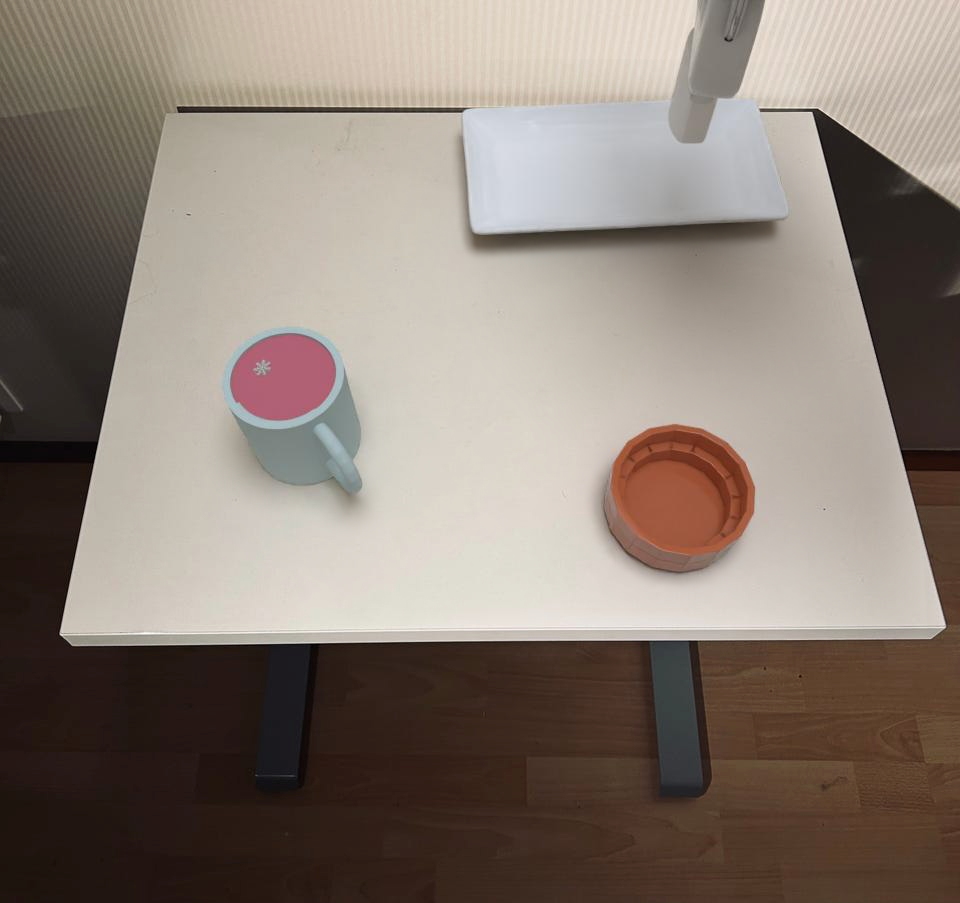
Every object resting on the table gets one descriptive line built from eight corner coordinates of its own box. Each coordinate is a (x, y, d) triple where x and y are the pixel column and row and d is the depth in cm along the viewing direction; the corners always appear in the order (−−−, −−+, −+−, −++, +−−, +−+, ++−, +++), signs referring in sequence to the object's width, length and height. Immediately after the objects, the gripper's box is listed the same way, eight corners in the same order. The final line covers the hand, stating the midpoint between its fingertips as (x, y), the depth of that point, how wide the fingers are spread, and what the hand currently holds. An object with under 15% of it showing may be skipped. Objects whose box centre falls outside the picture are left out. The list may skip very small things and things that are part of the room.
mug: (235, 428, 70) (200, 366, 61) (324, 374, 73) (303, 307, 64) (318, 546, 65) (293, 497, 56) (411, 483, 68) (401, 427, 59)
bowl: (741, 462, 69) (757, 438, 65) (734, 585, 64) (751, 567, 60) (612, 439, 70) (620, 414, 66) (595, 559, 65) (602, 539, 61)
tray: (782, 240, 80) (795, 215, 77) (469, 255, 79) (469, 230, 76) (746, 121, 88) (756, 94, 84) (460, 133, 87) (460, 106, 83)
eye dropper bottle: (722, 112, 71) (764, -19, 61) (698, 152, 69) (738, 23, 58) (676, 96, 72) (710, -36, 62) (651, 135, 70) (682, 4, 59)
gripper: (800, -12, 49) (735, 163, 61) (805, -187, 58) (747, -3, 70) (696, -25, 49) (652, 152, 61) (717, -196, 58) (675, -12, 71)
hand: (703, 68), depth 66 cm, fingers closed on eye dropper bottle, 5 cm apart
